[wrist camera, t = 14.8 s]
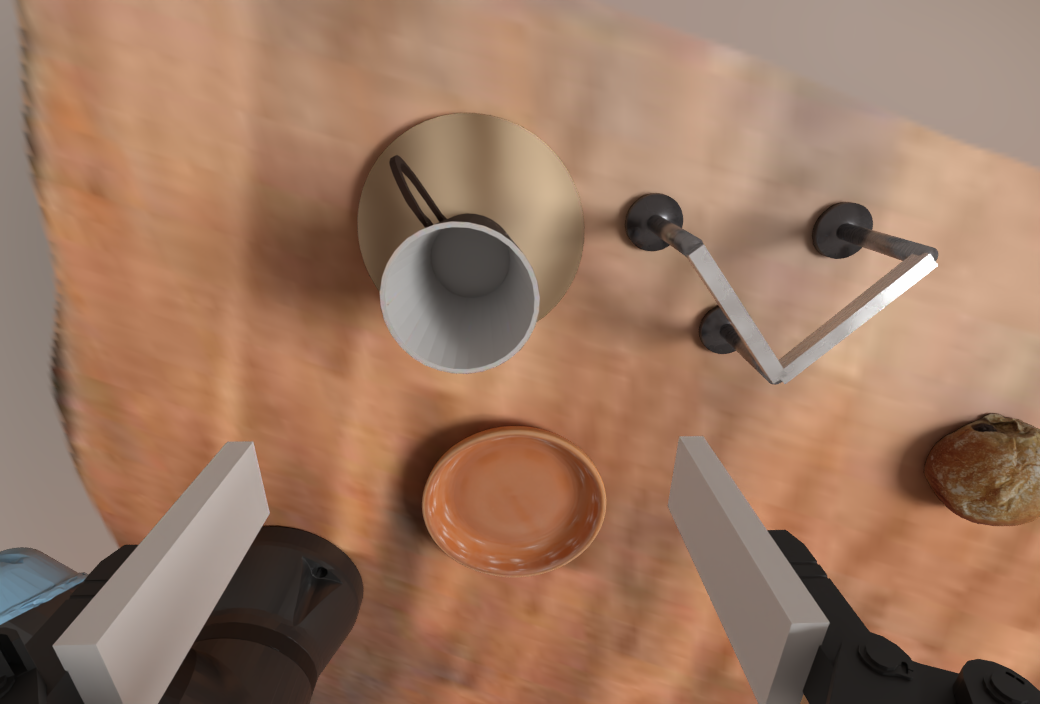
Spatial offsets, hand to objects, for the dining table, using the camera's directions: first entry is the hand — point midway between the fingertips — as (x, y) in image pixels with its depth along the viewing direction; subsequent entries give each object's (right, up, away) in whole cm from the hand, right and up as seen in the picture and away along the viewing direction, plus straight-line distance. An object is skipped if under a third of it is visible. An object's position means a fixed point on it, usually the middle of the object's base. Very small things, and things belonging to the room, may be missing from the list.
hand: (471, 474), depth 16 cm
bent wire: (+18, +9, +23) cm, 30 cm away
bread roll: (+44, -6, +31) cm, 54 cm away
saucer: (+1, -9, +31) cm, 32 cm away
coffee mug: (-2, +12, +20) cm, 24 cm away
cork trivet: (-2, +12, +21) cm, 24 cm away
